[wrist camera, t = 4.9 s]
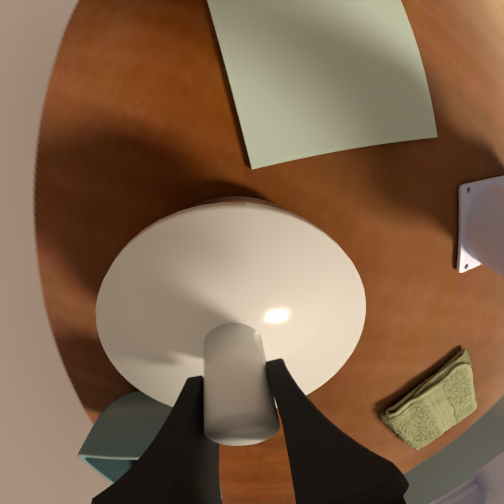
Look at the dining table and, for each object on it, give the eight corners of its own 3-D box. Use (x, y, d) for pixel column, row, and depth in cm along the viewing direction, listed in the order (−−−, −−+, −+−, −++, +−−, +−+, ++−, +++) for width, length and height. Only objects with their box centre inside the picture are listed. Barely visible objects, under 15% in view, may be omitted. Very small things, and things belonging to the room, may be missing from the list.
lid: (361, 178, 11) (449, 232, 6) (350, 380, 16) (378, 447, 12) (59, 239, 10) (-8, 317, 6) (156, 413, 16) (151, 484, 11)
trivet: (386, -25, 12) (388, -27, 12) (434, 137, 17) (437, 137, 17) (201, -20, 12) (200, -23, 12) (251, 168, 17) (252, 169, 17)
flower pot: (102, 378, 23) (73, 455, 14) (186, 365, 22) (176, 457, 14) (146, 432, 26) (134, 500, 17) (221, 423, 26) (224, 499, 17)
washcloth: (461, 339, 26) (476, 355, 23) (472, 394, 32) (482, 407, 29) (371, 408, 28) (381, 428, 25) (406, 444, 34) (414, 458, 31)
